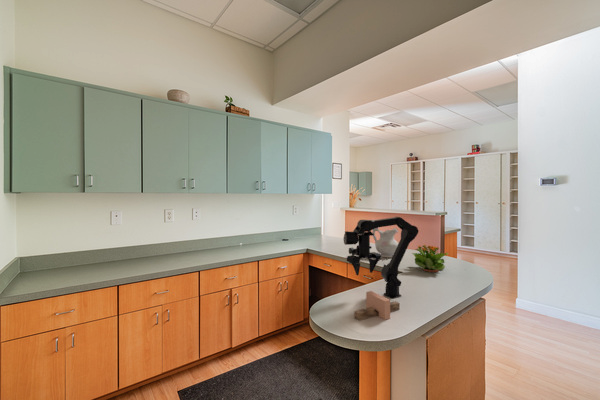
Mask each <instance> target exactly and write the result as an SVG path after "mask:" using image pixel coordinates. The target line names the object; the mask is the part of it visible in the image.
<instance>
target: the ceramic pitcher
mask: <svg viewBox="0 0 600 400" xmlns="http://www.w3.org/2000/svg"><path fill="white" fill-rule="evenodd" d="M371 232H372V233H373V234H374V235H373V236H372V238H373V240H374V244H375V250H376V251H377V253H379V254H380V255H381V258H391V259H392V257H393V254H394V252H395V250H396V248H397V246H398V244H399V242H398V241H397V240H396V239H395V235H396V234H398V233H399V230H398V229H397V228H396V227H395V228H392V229H391V230H390V229H386V230H379V227H378V228H375V229H373V230H371ZM376 232H378V233H379V239H377V236H376Z"/></svg>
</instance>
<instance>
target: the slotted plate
mask: <svg viewBox="0 0 600 400" xmlns="http://www.w3.org/2000/svg"><path fill="white" fill-rule="evenodd" d="M365 301H366V302H365V304H366V305H365V307H366V308H370V307H372V308H374V309H375V310H376V311H378V312H379V315H378V317H379V318H381V319H383V320H388V319H391V312H390V302H391V299H389V298H387V297H385V296H383V295H381V294H379V293H377V292H374V291H371V290H369V291H366V293H365ZM366 308H365V309H366Z"/></svg>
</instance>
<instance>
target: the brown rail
mask: <svg viewBox="0 0 600 400" xmlns="http://www.w3.org/2000/svg"><path fill="white" fill-rule="evenodd" d="M398 310H400V302H398V301H397V300H395V301H390V313H392V312H394V311H398ZM376 316H379V312H378V311H376V310H375V309H374V308H372V307H370V308H361V309H357V310H355V311H354V316H353V317H354V319H355V320H356V321H361V320H365V319H369V318H373V317H376Z"/></svg>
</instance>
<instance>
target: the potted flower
mask: <svg viewBox="0 0 600 400" xmlns="http://www.w3.org/2000/svg"><path fill="white" fill-rule="evenodd" d="M439 249H440V248H439V246H438V247H437V246H434V245H426V244H423V245H422V246H421V245H418V247H417V248H416V249H414V250H415V251H418V252H415V253H414V252H412V255H413V256H414V257H415V258H414V263H415V265H416V266H417V267H419V268H421V269H423V271H425V272H428V273H437V272H438V271H443V270H444V269H445V268H446V265H445V263H446V262H445V259H444V258H443V257H444V256H446V255H449V252H439ZM437 252H438V253H437Z"/></svg>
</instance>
